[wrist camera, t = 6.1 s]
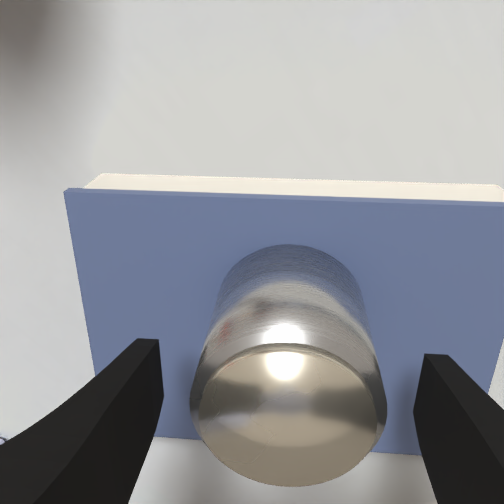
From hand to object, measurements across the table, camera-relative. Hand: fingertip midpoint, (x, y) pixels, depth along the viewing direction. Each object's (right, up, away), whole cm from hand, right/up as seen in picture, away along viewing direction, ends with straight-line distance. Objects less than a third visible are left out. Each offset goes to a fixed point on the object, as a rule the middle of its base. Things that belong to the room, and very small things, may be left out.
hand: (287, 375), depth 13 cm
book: (0, +2, +6) cm, 6 cm away
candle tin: (0, +2, +3) cm, 3 cm away
